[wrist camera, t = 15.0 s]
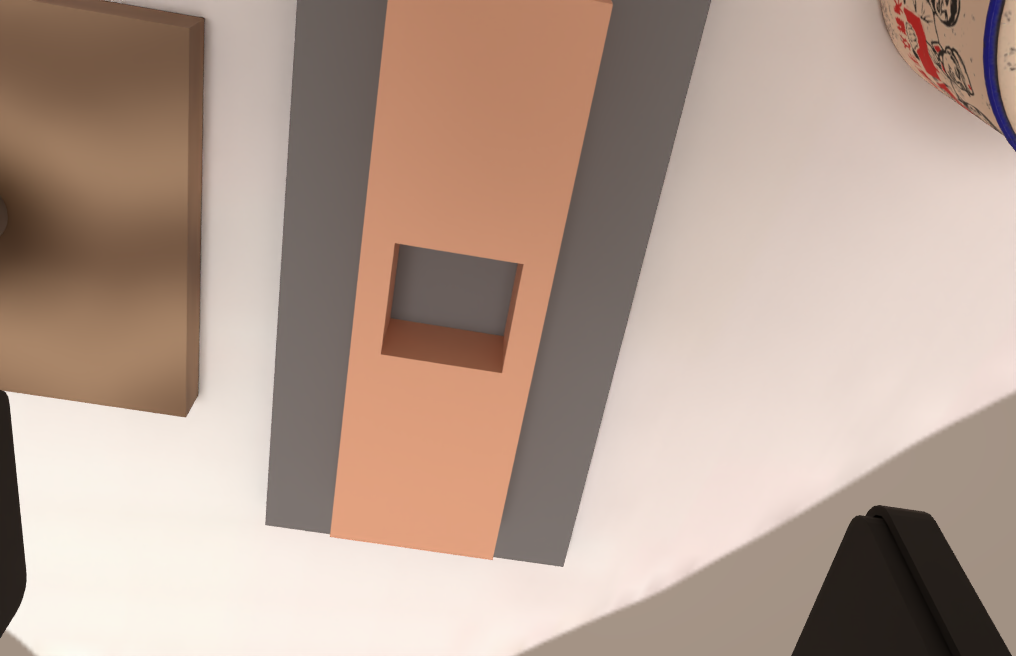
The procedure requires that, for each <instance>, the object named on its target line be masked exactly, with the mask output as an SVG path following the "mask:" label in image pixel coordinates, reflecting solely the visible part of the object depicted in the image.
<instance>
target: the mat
mask: <svg viewBox="0 0 1016 656" xmlns="http://www.w3.org/2000/svg"><path fill="white" fill-rule="evenodd" d="M611 1H612V3H613V7H612V12H611V16H610V21H609V25H608V30H607V35H606V39H605V44H604V49H603V53H602V58H601V62H600V67H599V72H598V76H597V81H596V85H595V90H594V95H593V99H592V104H591V108H590V113H589V118H588V122H587V127H586V131H585V136H584V141H583V145H582V150H581V154H580V159H579V164H578V168H577V173H576V178H575V182H574V187H573V191H572V196H571V201H570V205H569V210H568V214H567V219H566V224H565V228H564V233H563V237H562V242H561V247H560V251H559V256H558V260H557V265H556V270H555V274H554V279H553V284H552V288H551V293H550V297H549V302H548V307H547V311H546V316H545V320H544V325H543V330H542V334H541V339H540V343H539V348H538V353H537V357H536V362H535V366H534V371H533V376H532V380H531V385H530V389H529V394H528V399H527V403H526V408H525V413H524V417H523V422H522V426H521V431H520V436H519V440H518V445H517V449H516V454H515V459H514V463H513V468H512V472H511V477H510V482H509V486H508V491H507V495H506V500H505V505H504V509H503V514H502V519H501V523H500V528H499V532H498V537H497V542H496V546H495V551H494V555H493V557H497V558H504V559H511V560H518V561H525V562H532V563H540V564H547V565H554V566H561V567H563V566H564V562H565V558H566V554H567V551H568V547H569V543H570V539H571V535H572V531H573V528H574V524H575V520H576V516H577V512H578V508H579V505H580V501H581V497H582V493H583V489H584V485H585V482H586V478H587V474H588V470H589V466H590V462H591V459H592V455H593V451H594V447H595V443H596V439H597V436H598V432H599V428H600V424H601V420H602V416H603V413H604V409H605V405H606V401H607V397H608V393H609V390H610V386H611V382H612V378H613V374H614V370H615V367H616V363H617V359H618V355H619V351H620V347H621V344H622V340H623V336H624V332H625V328H626V324H627V321H628V317H629V313H630V309H631V305H632V301H633V298H634V294H635V290H636V286H637V282H638V278H639V275H640V271H641V267H642V263H643V259H644V255H645V252H646V248H647V244H648V240H649V236H650V232H651V229H652V225H653V221H654V217H655V213H656V209H657V206H658V202H659V198H660V194H661V190H662V186H663V183H664V179H665V175H666V171H667V167H668V163H669V160H670V156H671V152H672V148H673V144H674V140H675V137H676V133H677V129H678V125H679V121H680V117H681V114H682V110H683V106H684V102H685V98H686V94H687V91H688V87H689V83H690V79H691V75H692V71H693V68H694V64H695V60H696V56H697V52H698V48H699V45H700V41H701V37H702V33H703V29H704V25H705V22H706V18H707V14H708V10H709V6H710V2H711V0H611ZM387 2H388V0H297V12H296V29H295V45H294V62H293V78H292V95H291V111H290V128H289V144H288V161H287V177H286V193H285V210H284V226H283V243H282V259H281V276H280V292H279V309H278V325H277V341H276V358H275V374H274V391H273V407H272V424H271V440H270V457H269V473H268V490H267V506H266V522H265V525H269V526H276V527H283V528H290V529H297V530H305V531H312V532H319V533H326V534H330V532H331V523H332V513H333V504H334V495H335V486H336V476H337V467H338V458H339V448H340V439H341V430H342V421H343V411H344V402H345V393H346V383H347V374H348V365H349V355H350V346H351V337H352V328H353V318H354V309H355V300H356V290H357V281H358V272H359V263H360V253H361V244H362V235H363V225H364V216H365V207H366V197H367V188H368V179H369V170H370V160H371V151H372V142H373V132H374V123H375V114H376V105H377V95H378V86H379V77H380V67H381V58H382V49H383V39H384V30H385V21H386V12H387ZM517 265H518V263H513V262H507V261H501V260H495V259H489V258H482V257H476V256H470V255H464V254H458V253H452V252H446V251H440V250H434V249H428V248H421V247H415V246H409V245H403V244H400V247H399V254H398V262H397V270H396V278H395V286H394V293H393V301H392V309H391V317H390V318H392V319H399V320H405V321H411V322H417V323H424V324H430V325H436V326H443V327H449V328H455V329H462V330H468V331H474V332H481V333H487V334H493V335H499V336H504V331H505V326H506V321H507V316H508V311H509V306H510V301H511V296H512V290H513V285H514V280H515V275H516V270H517Z"/></svg>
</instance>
